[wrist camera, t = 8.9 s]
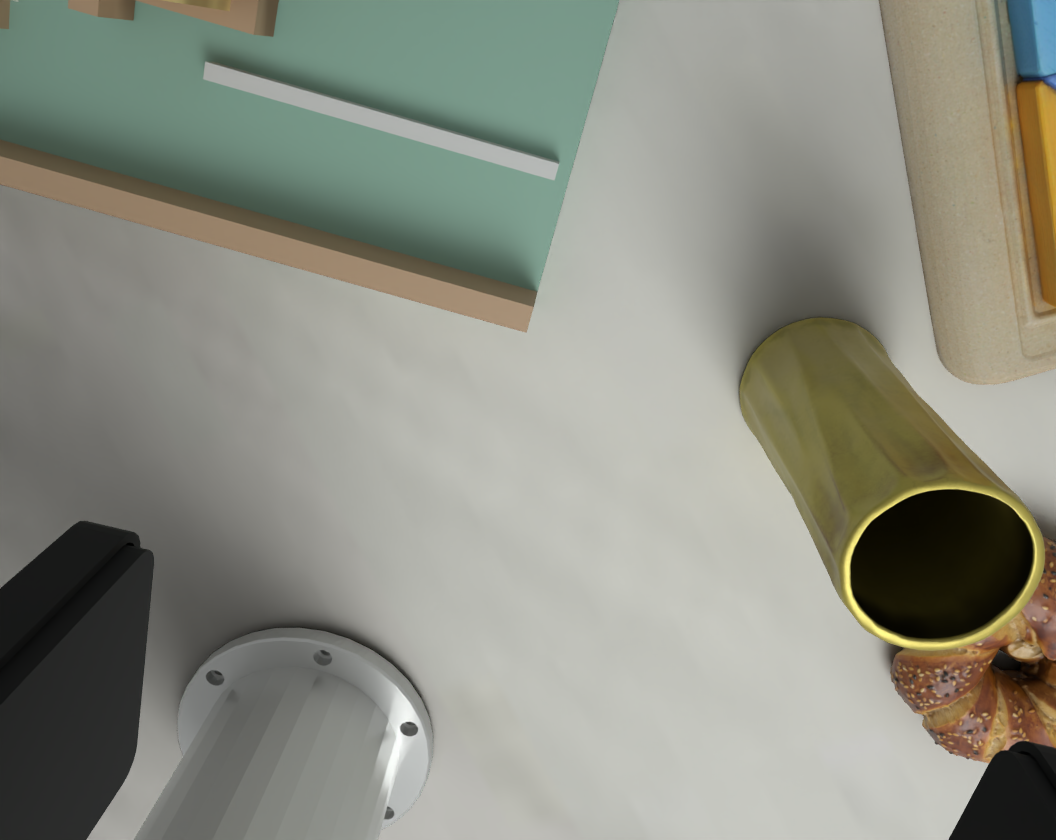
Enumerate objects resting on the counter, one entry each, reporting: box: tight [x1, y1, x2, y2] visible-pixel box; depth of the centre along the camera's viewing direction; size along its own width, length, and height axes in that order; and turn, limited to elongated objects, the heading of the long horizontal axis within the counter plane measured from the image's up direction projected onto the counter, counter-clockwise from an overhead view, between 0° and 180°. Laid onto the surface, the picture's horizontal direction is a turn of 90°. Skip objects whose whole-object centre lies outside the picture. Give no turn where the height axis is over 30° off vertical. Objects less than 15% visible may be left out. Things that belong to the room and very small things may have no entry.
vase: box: [740, 317, 1045, 651], centre depth 30 cm, size 6×6×14 cm
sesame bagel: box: [890, 536, 1056, 763], centre depth 39 cm, size 12×11×4 cm
